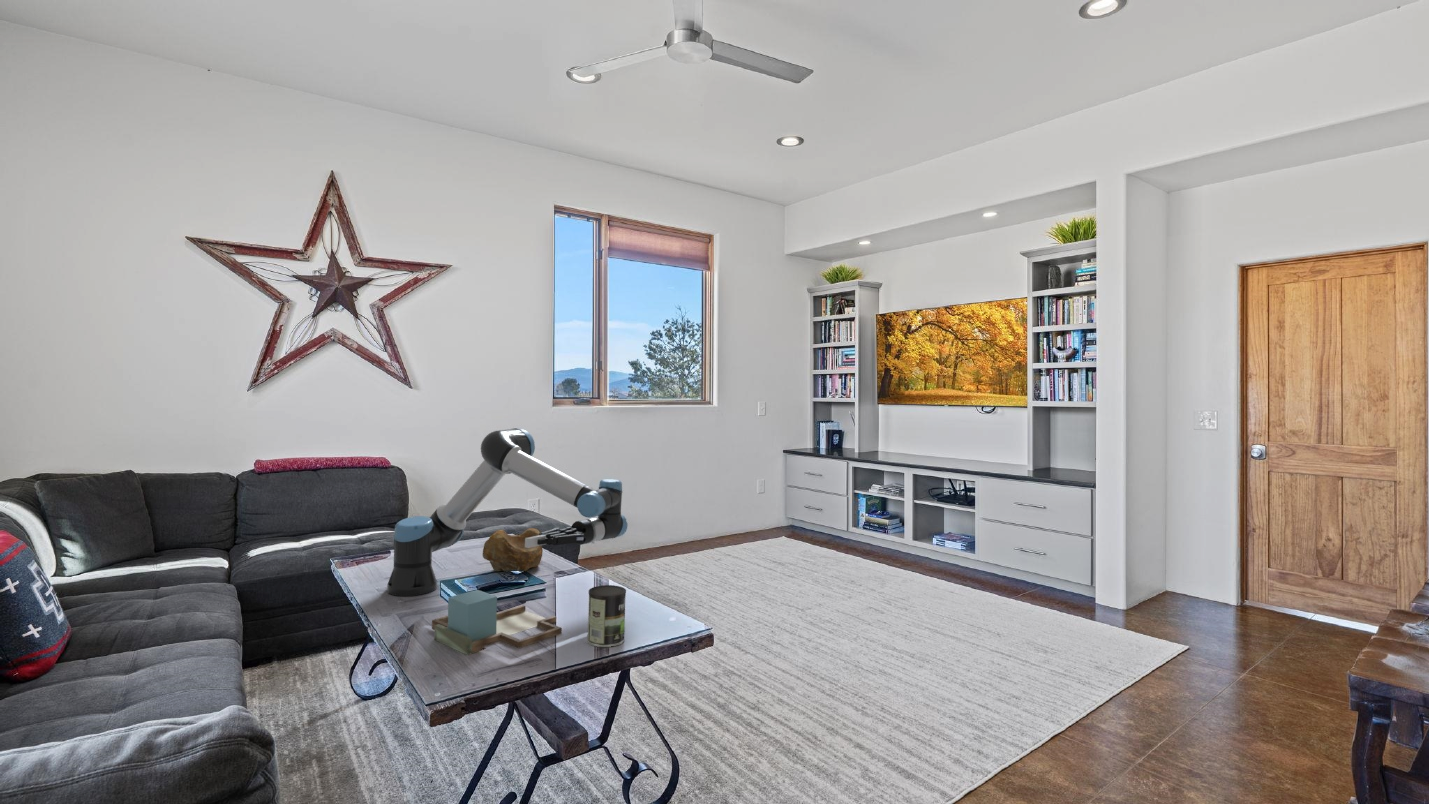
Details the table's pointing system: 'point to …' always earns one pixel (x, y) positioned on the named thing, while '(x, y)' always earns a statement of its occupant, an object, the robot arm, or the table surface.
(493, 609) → the teal block
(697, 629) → the table surface
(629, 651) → the table surface
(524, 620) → the trap lane
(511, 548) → the rough brown rock
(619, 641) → the coffee can
